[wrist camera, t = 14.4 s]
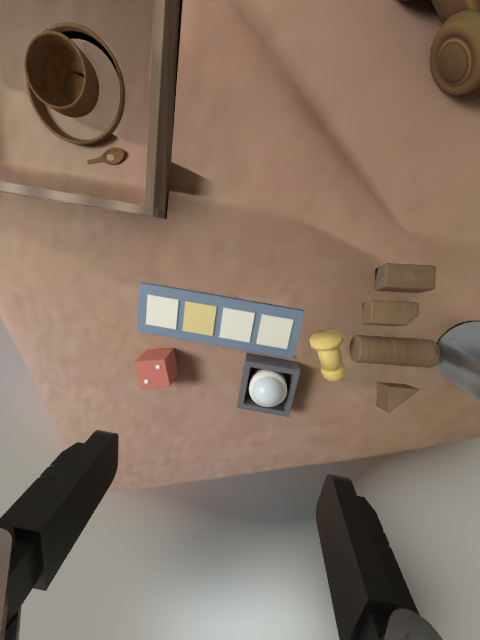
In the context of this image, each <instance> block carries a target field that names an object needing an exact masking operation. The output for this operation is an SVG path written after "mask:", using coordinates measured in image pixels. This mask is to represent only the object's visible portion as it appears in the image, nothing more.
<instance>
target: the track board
mask: <svg viewBox="0 0 480 640" xmlns="http://www.w3.org/2000/svg"><path fill="white" fill-rule="evenodd" d="M304 312H305V311H304V310H300V309H295V308H289V307H283V306H277V305H272V304H266V303H260V302H254V301H248V300H243V299H237V298H231V297H225V296H220V295H214V294H208V293H202V292H196V291H191V290H185V289H179V288H173V287H168V286H162V285H156V284H150V283H144V282H141V283H140V289H139V311H138V331H139V332H144V333H150V334H156V335H161V336H167V337H173V338H178V339H184V340H190V341H195V342H201V343H206V344H212V345H218V346H223V347H229V348H235V349H240V350H246V351H251V352H257V353H263V354H268V355H274V356H280V357H285V358H291V359H293V358H294V354H295V350H296V345H297V341H298V337H299V333H300V329H301V325H302V321H303V316H304Z"/></svg>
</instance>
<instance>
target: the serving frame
mask: <svg viewBox="0 0 480 640" xmlns="http://www.w3.org/2000/svg"><path fill="white" fill-rule="evenodd" d="M181 14H182V0H155V4H154V25H153V46H152V67H151V88H150V109H149V130H148V151H147V172H146V193H145V206H143V205H137V204H131V203H125V202H119V201H113V200H107V199H101V198H95V197H89V196H83V195H77V194H71V193H65V192H59V191H53V190H47V189H41V188H35V187H29V186H23V185H17V184H11V183H4V182H0V191H1V192H7V193H13V194H19V195H25V196H31V197H37V198H43V199H49V200H55V201H61V202H67V203H73V204H79V205H85V206H91V207H97V208H103V209H109V210H115V211H121V212H127V213H133V214H139V215H145V216H151V217H157V218H163V219H167V210H168V196H169V182H170V168H171V154H172V140H173V126H174V112H175V98H176V84H177V70H178V56H179V42H180V28H181Z"/></svg>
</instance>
